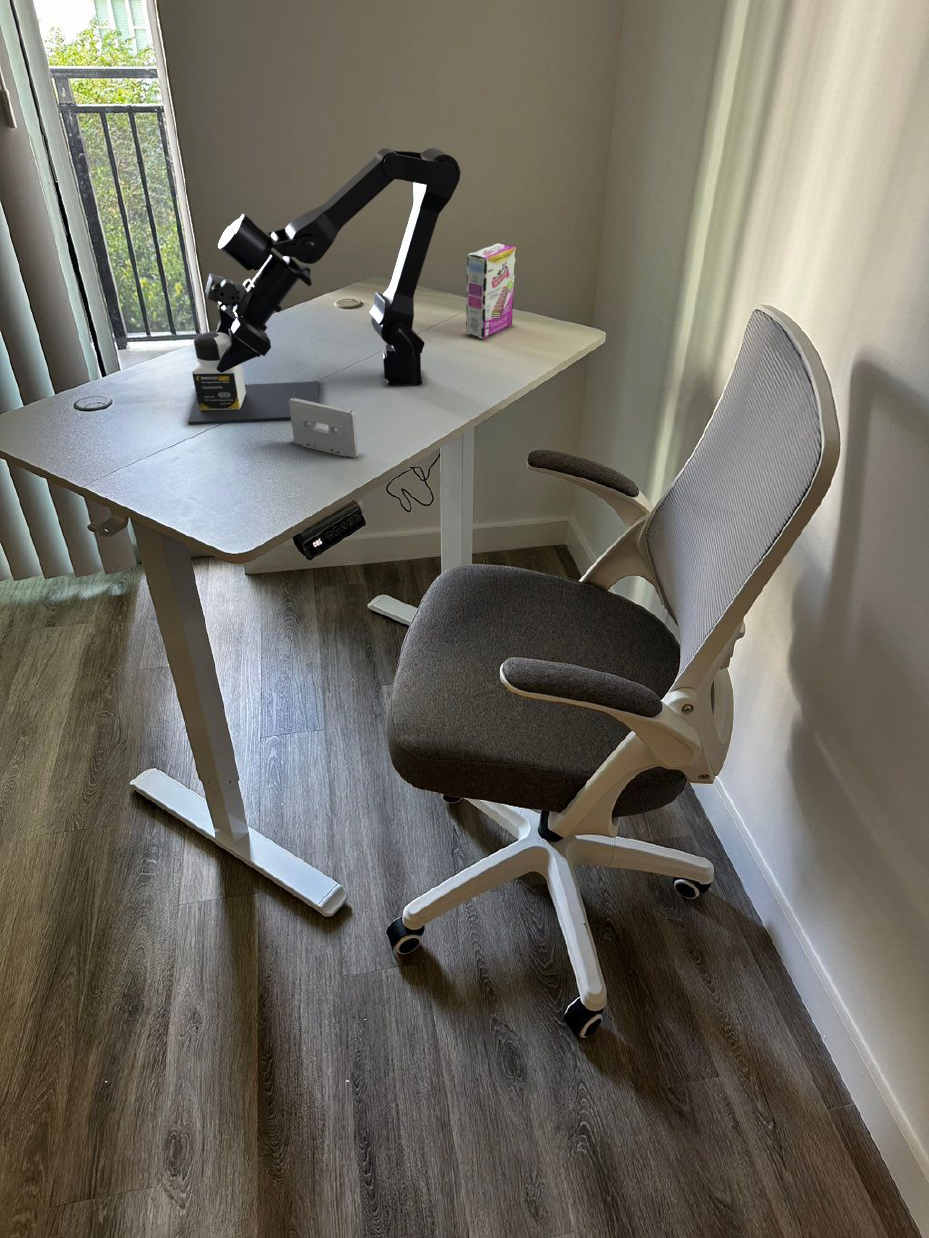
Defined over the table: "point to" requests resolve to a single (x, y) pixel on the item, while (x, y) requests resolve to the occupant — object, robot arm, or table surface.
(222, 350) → the medicine bottle
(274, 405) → the desk mat
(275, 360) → the table surface
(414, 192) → the robot arm
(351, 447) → the cassette
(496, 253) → the candy bar box
